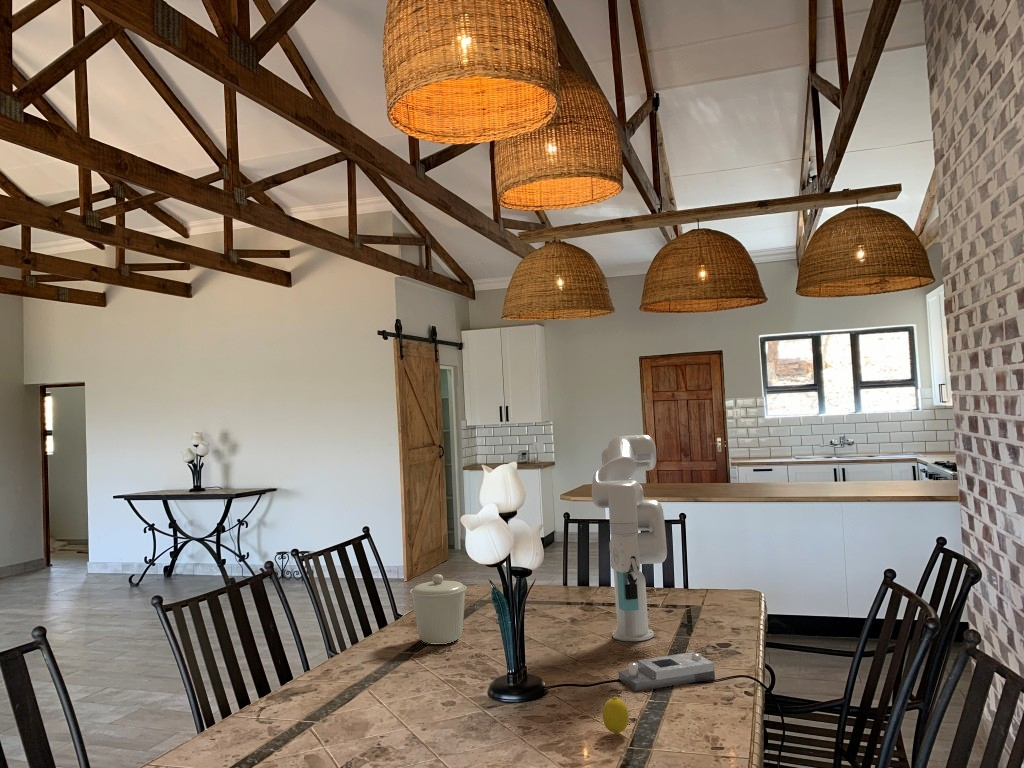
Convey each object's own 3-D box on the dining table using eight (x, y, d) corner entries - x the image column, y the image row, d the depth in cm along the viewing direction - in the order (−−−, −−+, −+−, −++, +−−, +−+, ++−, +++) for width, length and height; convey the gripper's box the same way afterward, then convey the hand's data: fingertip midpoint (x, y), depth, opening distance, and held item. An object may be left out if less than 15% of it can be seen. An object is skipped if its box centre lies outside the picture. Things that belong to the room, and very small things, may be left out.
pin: (619, 608, 215) (616, 571, 216) (632, 606, 216) (630, 569, 217) (624, 611, 211) (622, 573, 212) (638, 609, 213) (636, 572, 213)
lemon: (601, 730, 173) (599, 693, 174) (626, 728, 174) (624, 691, 174) (606, 741, 168) (604, 702, 168) (632, 738, 168) (630, 700, 169)
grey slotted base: (618, 678, 207) (617, 659, 207) (694, 667, 213) (693, 648, 213) (635, 691, 197) (634, 671, 197) (714, 678, 203) (713, 658, 203)
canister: (473, 632, 260) (469, 567, 261) (464, 648, 243) (460, 579, 243) (419, 634, 262) (415, 569, 263) (406, 650, 244) (403, 581, 245)
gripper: (600, 526, 222) (603, 593, 221) (623, 533, 206) (627, 605, 205) (624, 524, 224) (628, 590, 223) (649, 531, 208) (654, 602, 207)
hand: (628, 596), depth 214 cm, fingers closed on pin, 4 cm apart
